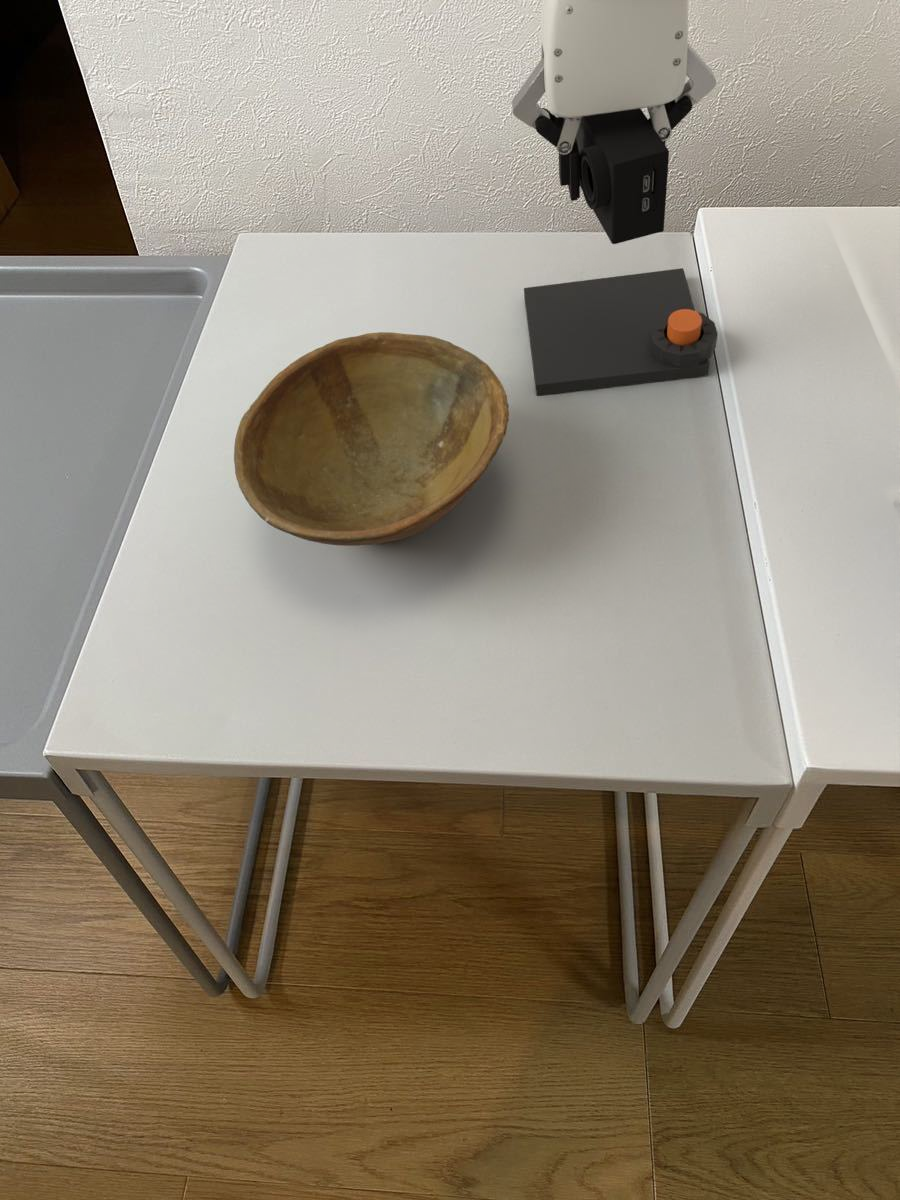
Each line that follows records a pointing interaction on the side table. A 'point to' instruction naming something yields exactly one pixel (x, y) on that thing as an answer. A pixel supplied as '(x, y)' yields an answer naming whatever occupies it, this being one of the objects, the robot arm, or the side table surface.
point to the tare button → (684, 327)
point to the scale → (612, 332)
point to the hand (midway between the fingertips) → (610, 183)
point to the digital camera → (623, 173)
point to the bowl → (369, 438)
